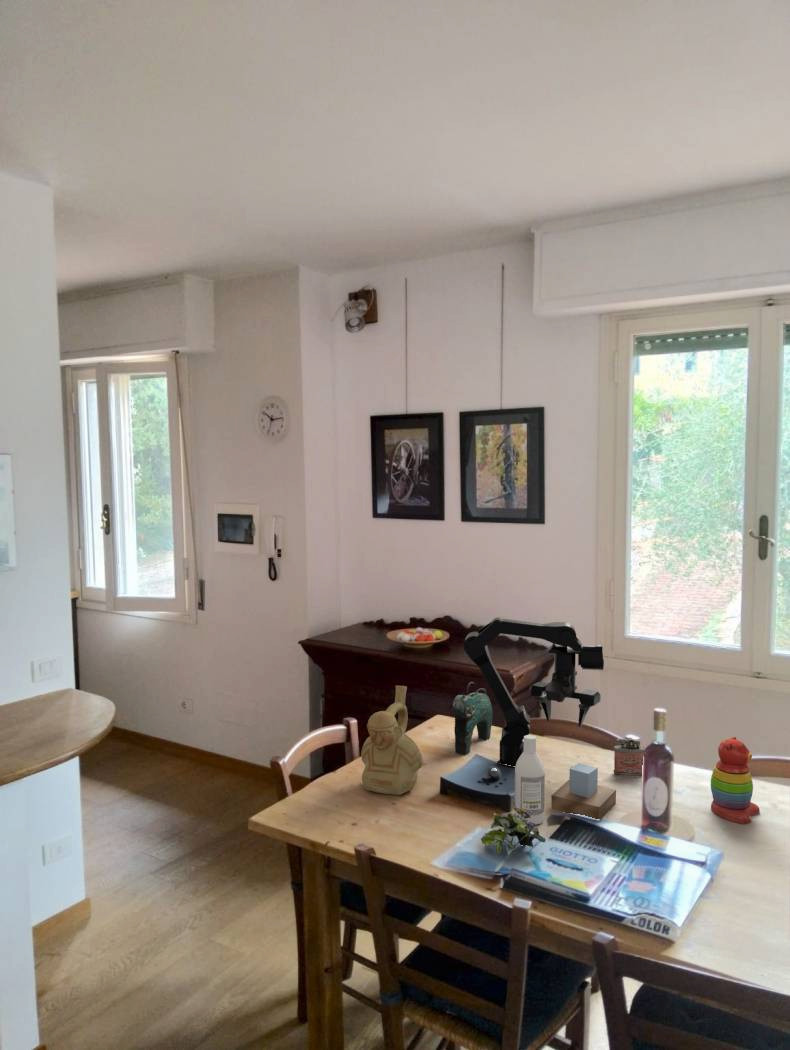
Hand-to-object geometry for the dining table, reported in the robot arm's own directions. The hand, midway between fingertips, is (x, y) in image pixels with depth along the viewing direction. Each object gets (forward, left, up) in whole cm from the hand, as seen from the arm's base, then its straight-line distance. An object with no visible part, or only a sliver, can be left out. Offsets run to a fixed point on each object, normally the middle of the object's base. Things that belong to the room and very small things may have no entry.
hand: (564, 723), depth 215 cm
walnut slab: (+14, -22, -12) cm, 29 cm away
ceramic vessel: (-32, -38, -12) cm, 51 cm away
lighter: (+17, +4, -12) cm, 21 cm away
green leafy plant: (+10, -53, -12) cm, 55 cm away
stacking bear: (+45, -5, -12) cm, 47 cm away
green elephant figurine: (-29, 0, -12) cm, 32 cm away
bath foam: (+6, -36, -12) cm, 38 cm away
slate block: (+14, -22, -8) cm, 27 cm away
